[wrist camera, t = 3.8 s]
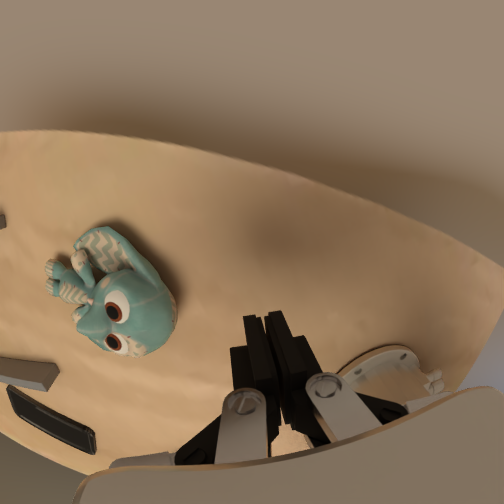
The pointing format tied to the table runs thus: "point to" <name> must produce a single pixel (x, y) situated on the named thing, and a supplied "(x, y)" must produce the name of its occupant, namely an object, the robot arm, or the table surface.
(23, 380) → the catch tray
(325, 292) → the table surface
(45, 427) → the phone
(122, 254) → the stuffed animal
